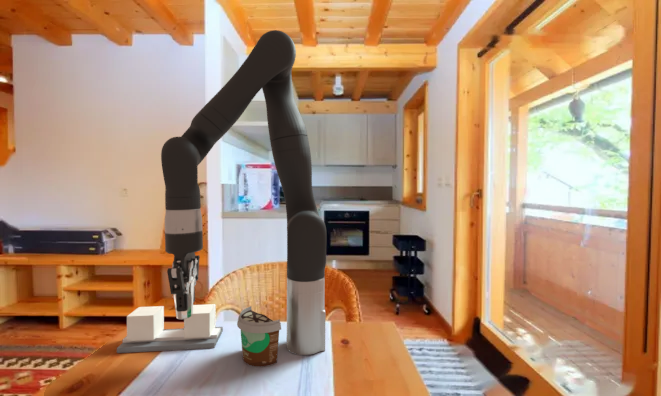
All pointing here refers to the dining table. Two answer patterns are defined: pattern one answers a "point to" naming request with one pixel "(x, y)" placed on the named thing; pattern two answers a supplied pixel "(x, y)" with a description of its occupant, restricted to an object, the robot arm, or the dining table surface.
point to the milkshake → (190, 301)
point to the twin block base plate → (170, 330)
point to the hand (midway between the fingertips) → (186, 306)
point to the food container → (258, 338)
